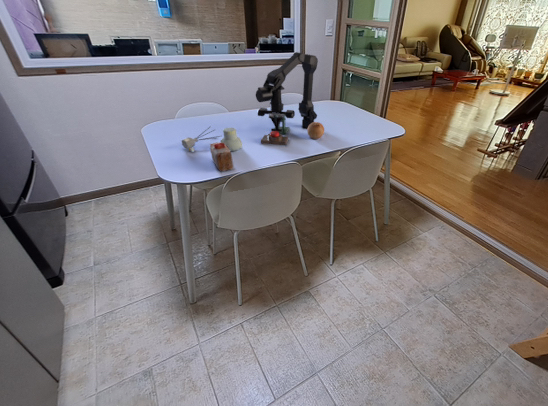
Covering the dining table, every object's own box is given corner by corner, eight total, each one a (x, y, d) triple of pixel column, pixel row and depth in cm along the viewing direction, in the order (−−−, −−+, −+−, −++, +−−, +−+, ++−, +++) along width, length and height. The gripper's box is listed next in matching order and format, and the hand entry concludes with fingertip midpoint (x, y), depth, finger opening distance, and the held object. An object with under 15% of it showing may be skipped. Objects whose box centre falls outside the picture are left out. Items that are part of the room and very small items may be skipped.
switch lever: (282, 133, 156) (281, 129, 154) (271, 132, 157) (270, 128, 155) (286, 119, 163) (285, 115, 161) (275, 118, 164) (275, 114, 162)
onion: (318, 145, 159) (320, 132, 151) (303, 138, 160) (305, 125, 152) (325, 134, 164) (328, 122, 156) (311, 128, 165) (313, 114, 156)
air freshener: (244, 151, 140) (241, 131, 134) (227, 154, 136) (224, 134, 130) (236, 143, 147) (234, 124, 141) (220, 146, 143) (217, 127, 137)
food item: (210, 160, 130) (206, 139, 125) (228, 157, 134) (225, 136, 128) (218, 172, 120) (214, 150, 115) (236, 169, 124) (234, 147, 119)
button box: (288, 140, 155) (288, 133, 153) (285, 146, 148) (285, 138, 146) (264, 138, 155) (264, 131, 153) (261, 144, 148) (260, 136, 146)
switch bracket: (285, 135, 162) (285, 118, 156) (271, 133, 162) (271, 117, 157) (289, 129, 170) (288, 113, 165) (275, 128, 170) (275, 112, 165)
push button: (279, 134, 151) (279, 131, 150) (278, 137, 148) (277, 134, 147) (271, 134, 152) (271, 130, 151) (269, 137, 148) (269, 133, 147)
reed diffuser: (176, 135, 135) (211, 121, 148) (177, 146, 140) (211, 132, 153) (191, 148, 133) (225, 133, 146) (191, 159, 138) (224, 143, 152)
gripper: (296, 96, 154) (296, 125, 162) (261, 94, 154) (263, 122, 163) (292, 102, 144) (293, 132, 153) (256, 99, 145) (258, 129, 153)
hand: (277, 128), depth 156 cm, fingers closed, pressing on switch lever
